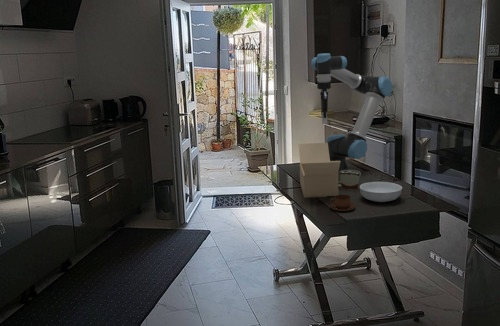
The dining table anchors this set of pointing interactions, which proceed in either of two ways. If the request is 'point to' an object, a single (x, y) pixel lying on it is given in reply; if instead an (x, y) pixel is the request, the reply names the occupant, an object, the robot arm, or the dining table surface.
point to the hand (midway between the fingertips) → (324, 123)
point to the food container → (349, 179)
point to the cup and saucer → (342, 203)
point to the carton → (318, 184)
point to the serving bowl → (380, 191)
